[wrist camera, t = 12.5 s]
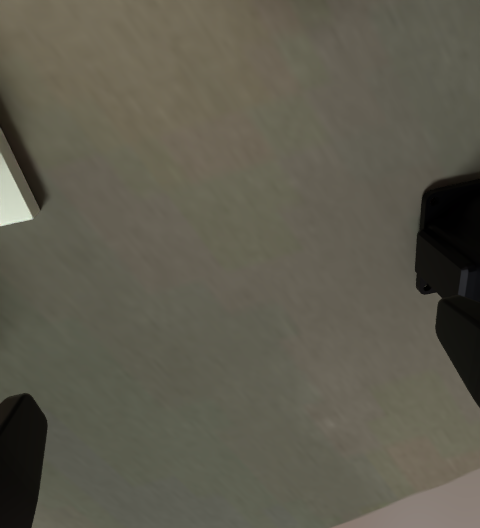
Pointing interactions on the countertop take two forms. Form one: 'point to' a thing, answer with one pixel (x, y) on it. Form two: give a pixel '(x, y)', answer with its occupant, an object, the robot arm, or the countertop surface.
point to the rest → (14, 189)
